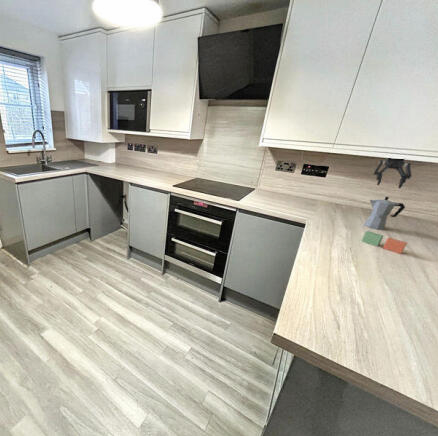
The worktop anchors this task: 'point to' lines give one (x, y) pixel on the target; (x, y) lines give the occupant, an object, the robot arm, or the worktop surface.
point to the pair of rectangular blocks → (389, 245)
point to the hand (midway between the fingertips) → (389, 185)
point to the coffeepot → (381, 213)
